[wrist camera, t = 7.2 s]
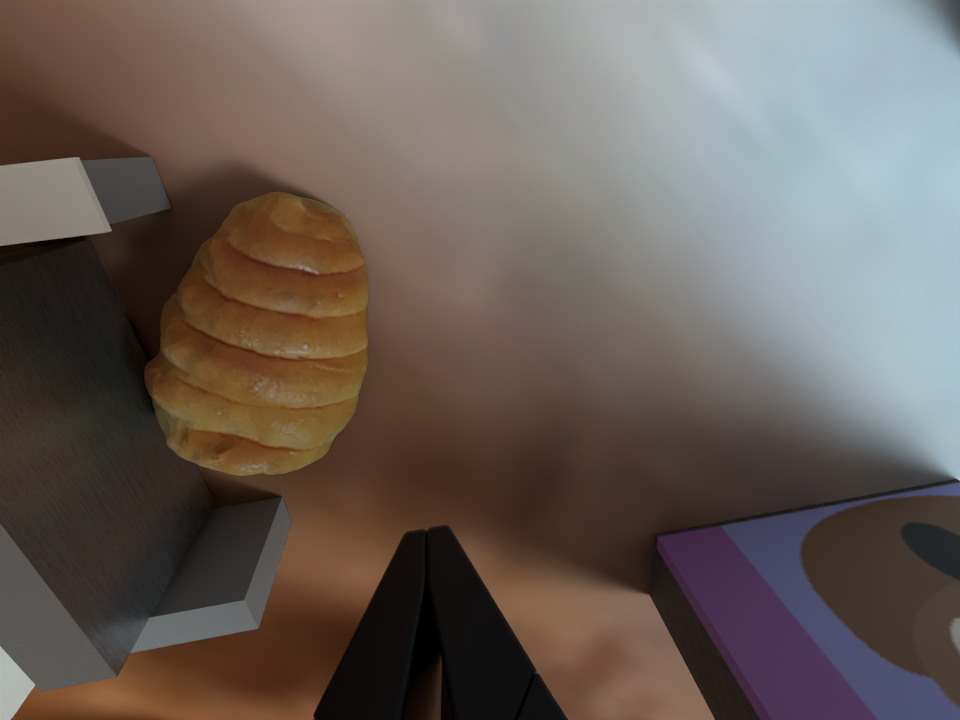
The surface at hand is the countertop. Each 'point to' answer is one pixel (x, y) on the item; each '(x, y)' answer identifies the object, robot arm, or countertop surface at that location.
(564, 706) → the countertop surface
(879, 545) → the cereal box
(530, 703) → the robot arm
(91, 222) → the white grey open box
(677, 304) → the countertop surface
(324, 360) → the pastry
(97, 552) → the gauge pad
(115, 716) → the countertop surface
